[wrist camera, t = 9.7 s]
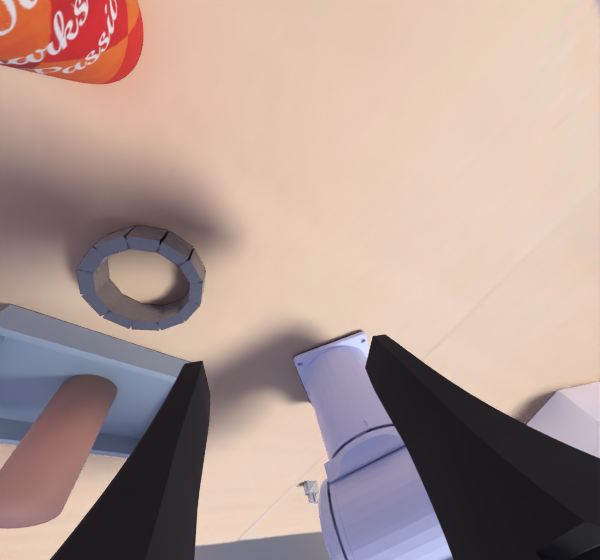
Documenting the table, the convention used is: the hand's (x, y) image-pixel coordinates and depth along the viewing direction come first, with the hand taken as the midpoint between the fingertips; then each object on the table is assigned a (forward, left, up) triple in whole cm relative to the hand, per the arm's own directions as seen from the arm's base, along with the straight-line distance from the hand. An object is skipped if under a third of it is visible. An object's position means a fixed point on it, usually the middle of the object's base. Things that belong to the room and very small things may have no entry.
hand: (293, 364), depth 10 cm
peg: (-6, +18, -10) cm, 21 cm away
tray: (-6, +18, -10) cm, 22 cm away
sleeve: (+2, +8, -10) cm, 13 cm away
